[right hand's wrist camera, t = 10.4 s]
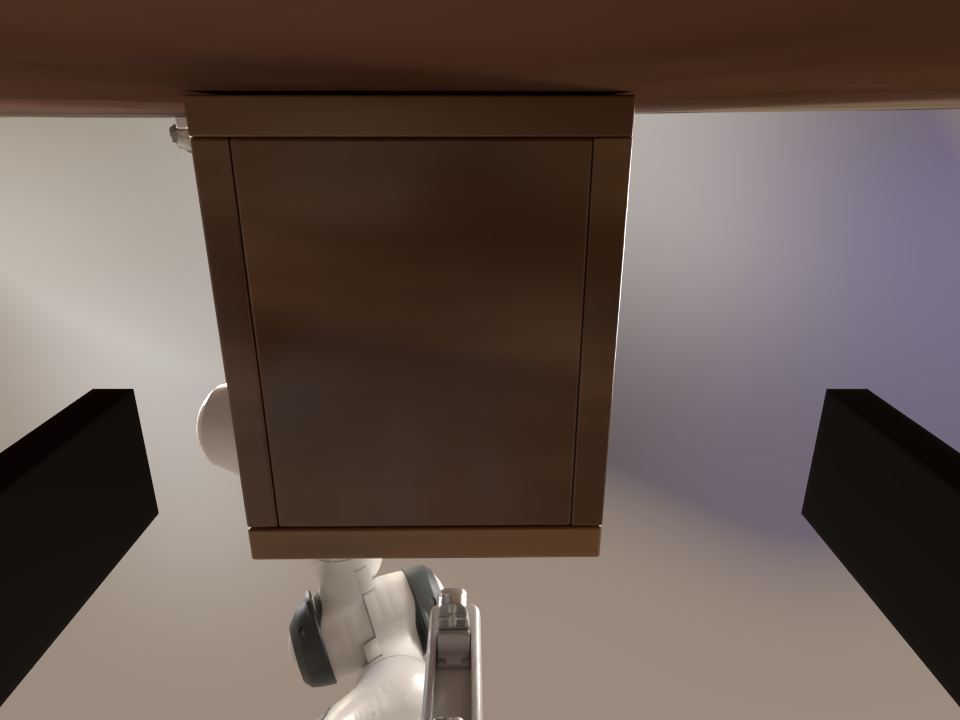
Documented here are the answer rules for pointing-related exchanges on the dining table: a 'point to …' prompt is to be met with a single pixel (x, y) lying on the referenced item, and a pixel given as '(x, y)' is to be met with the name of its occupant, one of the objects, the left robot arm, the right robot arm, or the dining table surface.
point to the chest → (416, 301)
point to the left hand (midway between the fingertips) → (450, 654)
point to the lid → (425, 541)
